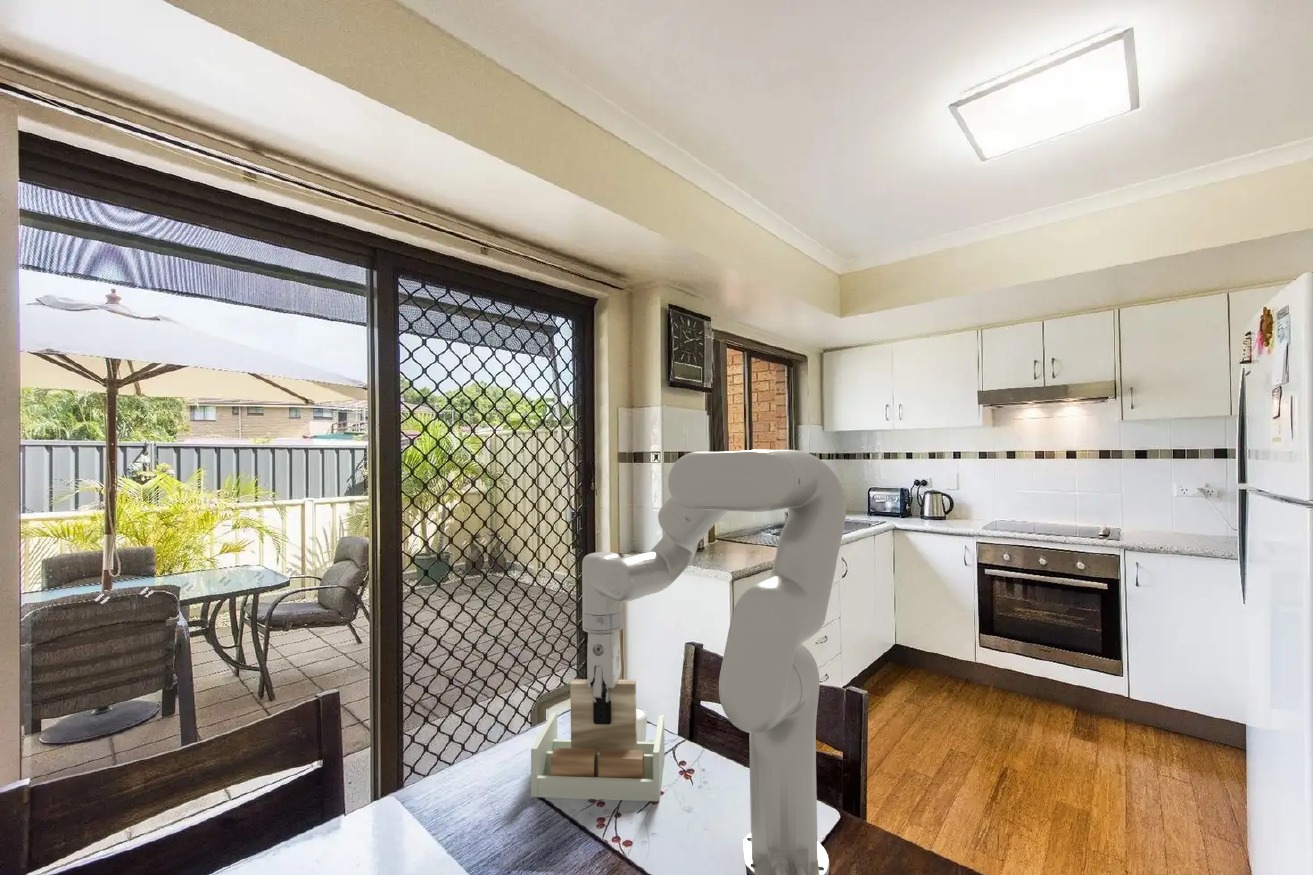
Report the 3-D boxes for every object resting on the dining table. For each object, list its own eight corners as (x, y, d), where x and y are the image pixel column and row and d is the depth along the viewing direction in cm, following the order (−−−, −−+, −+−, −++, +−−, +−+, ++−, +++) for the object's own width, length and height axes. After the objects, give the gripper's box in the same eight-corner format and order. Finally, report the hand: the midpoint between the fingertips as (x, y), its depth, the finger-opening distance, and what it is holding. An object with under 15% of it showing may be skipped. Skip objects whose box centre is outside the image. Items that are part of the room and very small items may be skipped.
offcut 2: (642, 795, 96) (642, 759, 97) (598, 793, 97) (598, 758, 97) (644, 785, 99) (643, 750, 100) (601, 783, 100) (601, 749, 100)
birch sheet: (636, 773, 103) (634, 684, 104) (571, 771, 104) (570, 683, 104) (637, 767, 105) (635, 679, 106) (573, 765, 106) (572, 679, 106)
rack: (659, 810, 95) (658, 752, 95) (531, 805, 96) (530, 748, 97) (664, 765, 109) (664, 714, 109) (552, 761, 110) (552, 712, 111)
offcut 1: (594, 793, 97) (593, 757, 97) (550, 791, 98) (550, 756, 98) (597, 783, 100) (596, 748, 100) (555, 782, 101) (554, 747, 101)
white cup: (609, 753, 113) (609, 718, 113) (621, 737, 119) (621, 704, 120) (641, 758, 111) (641, 722, 111) (652, 741, 117) (651, 707, 118)
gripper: (616, 633, 97) (617, 742, 97) (627, 608, 113) (628, 702, 112) (573, 632, 98) (574, 741, 97) (591, 608, 114) (591, 701, 113)
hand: (603, 719), depth 105 cm, fingers closed on birch sheet, 2 cm apart
